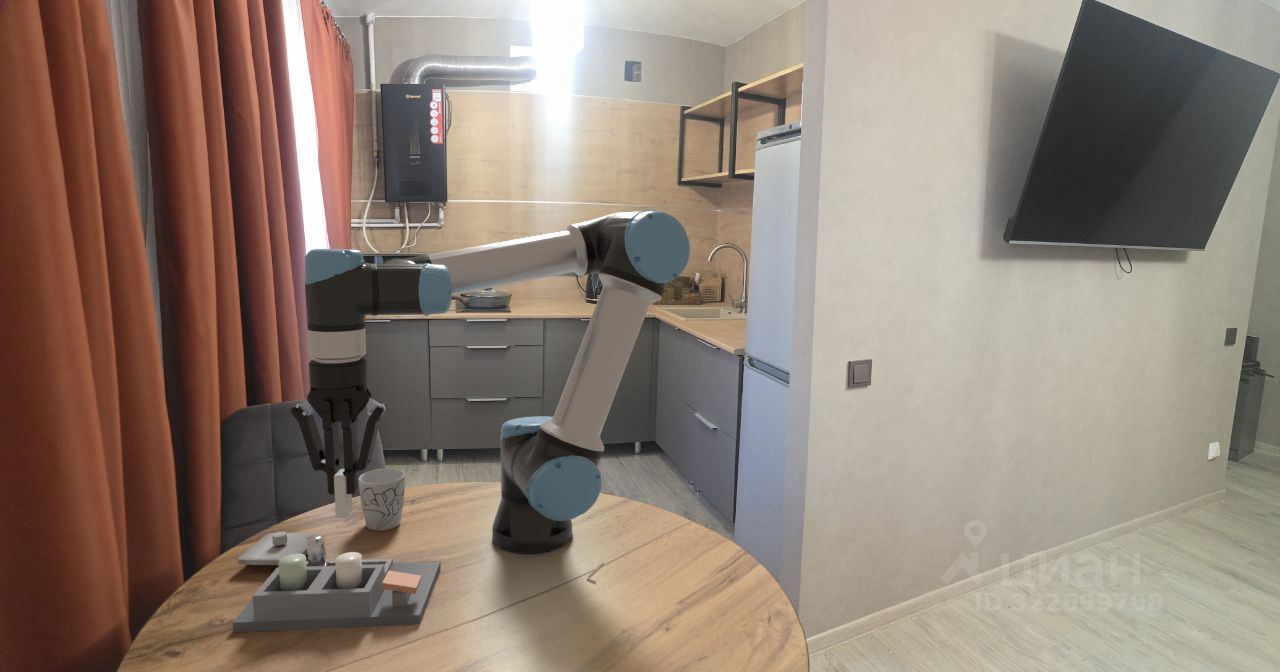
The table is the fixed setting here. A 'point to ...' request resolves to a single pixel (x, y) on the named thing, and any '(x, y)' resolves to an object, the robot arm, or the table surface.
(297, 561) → the sage button
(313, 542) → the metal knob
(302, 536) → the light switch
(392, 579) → the block
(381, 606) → the panel
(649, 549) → the table surface
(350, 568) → the white button
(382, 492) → the mug
